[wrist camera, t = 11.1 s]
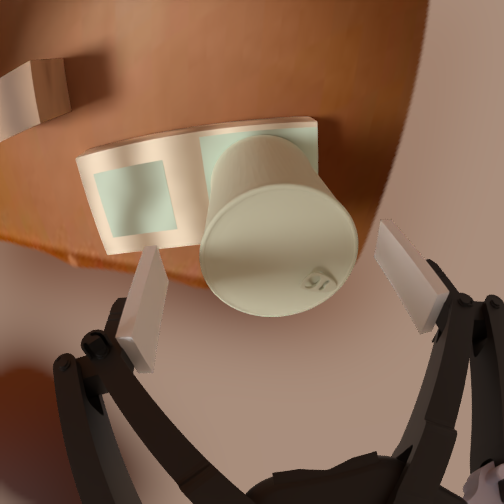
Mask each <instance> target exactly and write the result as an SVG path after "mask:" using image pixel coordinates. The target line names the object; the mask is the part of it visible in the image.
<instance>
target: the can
mask: <svg viewBox="0 0 504 504" xmlns="http://www.w3.org/2000/svg"><path fill="white" fill-rule="evenodd" d="M357 253H358V236H357V231H356V227H355V224H354V222H353V220H352V218H351V216H350V214H349V213H348V211H347V210H346V209H345V207H344V206H343V205H342V204H341V203H340V202H339V201H338V200H337V199H336V198H335V196H334V195H333V194H332V193H331V191H330V190H329V189H328V187H327V186H326V185H325V183H324V182H323V181H322V179H321V178H320V177H319V176H318V174H317V173H316V172H315V170H314V169H313V168H312V166H311V164H310V162H309V160H308V158H307V157H306V155H305V154H304V153H303V152H302V150H301V149H299V148H298V147H297V146H296V145H295V144H293V143H292V142H290V141H288V140H286V139H284V138H281V137H277V136H272V135H255V136H250V137H247V138H244V139H242V140H239V141H237V142H236V143H234V144H232V145H231V146H230V147H228V148H227V149H226V150H225V151H224V152H223V153H222V154H221V156H220V157H219V159H218V160H217V162H216V164H215V166H214V168H213V171H212V175H211V194H210V201H209V207H208V213H207V219H206V225H205V230H204V234H203V237H202V240H201V245H200V253H199V256H200V266H201V271H202V274H203V277H204V279H205V281H206V283H207V285H208V286H209V287H210V289H211V290H212V292H213V293H214V294H215V295H216V296H217V297H218V298H219V299H221V300H222V301H223V302H224V303H226V304H228V305H229V306H231V307H233V308H235V309H237V310H239V311H242V312H245V313H248V314H252V315H256V316H264V317H280V316H287V315H293V314H297V313H300V312H304V311H306V310H309V309H311V308H313V307H315V306H317V305H319V304H321V303H322V302H324V301H325V300H327V299H328V298H330V297H331V296H332V295H333V294H335V293H336V292H337V291H338V290H339V288H341V286H342V285H343V284H344V283H345V281H346V280H347V278H348V277H349V275H350V273H351V272H352V269H353V267H354V265H355V262H356V258H357Z"/></svg>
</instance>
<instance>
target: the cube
mask: <svg viewBox="0 0 504 504" xmlns="http://www.w3.org/2000/svg"><path fill="white" fill-rule="evenodd" d="M71 111H72V110H71V105H70V99H69V94H68V88H67V81H66V75H65V68H64V60H63V58H59V59H41V60H30V61H28V62H26V63H24V64H23V65H21V66H19V67H17V68H16V69H14V70H12V71H11V72H9V73H7V74H6V75H4V76H3V77H1V78H0V142H1V141H3V140H5V139H7V138H9V137H12V136H14V135H16V134H18V133H20V132H22V131H24V130H27V129H29V128H31V127H33V126H36V125H38V124H40V123H43V122H45V121H48V120H50V119H53V118H55V117H58V116H60V115H63V114H66V113H68V112H71Z"/></svg>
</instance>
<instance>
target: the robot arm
mask: <svg viewBox="0 0 504 504" xmlns="http://www.w3.org/2000/svg"><path fill="white" fill-rule="evenodd" d="M374 257H375V259H376V261H377V262H378V264H379V265H380V267H381V269H382V270H383V272H384V273H385V275H386V276H387V278H388V280H389V281H390V283H391V285H392V286H393V288H394V289H395V291H396V293H397V295H398V296H399V298H400V300H401V301H402V303H403V305H404V306H405V308H406V310H407V312H408V314H409V315H410V317H411V319H412V321H413V323H414V324H415V326H416V328H417V330H418V332H419V333H420V334H423V333H426V332H430V331H432V329H433V327H434V325H435V323H436V324H437V326H438V328H439V329H438V331H437V333H436V335H435V336H434V338H433V340H432V342H434V345H433V349H432V353H431V356H430V360H429V364H428V367H427V370H426V374H425V377H424V380H423V383H422V386H421V389H420V392H419V395H418V398H417V401H416V404H415V407H414V409H413V412H412V415H411V417H410V420H409V422H408V425H407V427H406V430H405V432H404V434H403V437H402V439H401V441H400V443H399V445H398V446H397V448H396V449H395V451H394V453H393V454H392V456H391V457H389V456H381V455H377V452H376V451H375V452H372V453H368V454H365V455H361V456H358V457H354V458H351V459H349V460H347V461H345V462H344V463H342V464H339V465H338V466H335V467H334V468H331V469H329V470H305V469H297V470H290V471H284V472H275V473H273V477H271V478H268V479H265V480H263V481H261V482H260V483H258V484H256V485H255V486H254V487H252V488H251V489H250V490H249V491H248V492H247V493H246V494H244V493H243V492H242V491H240V490H239V489H238V488H237V487H236V486H235V485H234V484H232V483H231V482H230V481H229V480H228V479H227V478H226V477H225V476H224V475H223V474H222V473H220V472H219V471H218V470H217V469H216V468H215V467H214V466H213V465H212V464H211V463H210V462H209V461H208V460H207V459H206V458H205V457H204V456H203V455H202V454H201V453H200V452H199V451H198V450H197V449H196V448H195V447H194V446H193V445H192V444H191V443H190V442H189V441H188V440H187V439H186V438H185V436H184V435H182V433H181V432H180V431H179V430H178V429H177V428H176V426H175V425H174V424H173V423H172V422H171V421H170V420H169V418H168V417H167V416H166V415H165V414H164V412H163V411H162V410H161V409H160V408H159V406H158V405H157V404H156V403H155V402H154V400H153V399H152V398H151V397H150V395H149V394H148V393H147V392H146V390H145V389H144V388H143V386H142V385H141V384H140V382H139V381H138V380H137V378H136V377H135V376H134V374H133V370H134V367H135V369H136V370H137V372H138V373H153V370H154V364H155V357H156V349H157V344H158V337H159V332H160V326H161V320H162V314H163V308H164V303H165V298H166V293H167V287H168V283H169V281H168V278H167V275H166V272H165V269H164V266H163V263H162V260H161V256H160V253H159V250H158V247H157V245H153V246H146V247H144V250H143V252H142V255H141V258H140V261H139V264H138V267H137V269H136V272H135V275H134V278H133V281H132V284H131V287H130V290H129V293H128V297H126V298H118V299H117V300H116V302H115V303H114V304H113V305H112V308H111V311H110V315H109V317H108V321H107V323H106V326H105V329H104V331H102V330H93V331H91V332H89V333H87V334H86V335H85V336H84V338H83V339H82V342H81V348H82V350H83V351H84V353H85V354H86V356H83V357H80V358H77V359H76V358H75V357H74V356H73V355H72V354H69V353H66V354H62V355H60V356H59V357H58V358H57V359H56V360H55V362H54V364H53V374H54V382H55V391H56V398H57V405H58V411H59V417H60V422H61V428H62V432H63V438H64V442H65V446H66V451H67V455H68V458H69V462H70V466H71V470H72V473H73V477H74V480H75V483H76V487H77V490H78V493H79V496H80V499H81V501H82V504H142V503H141V500H140V498H139V496H138V494H137V492H136V490H135V487H134V485H133V483H132V481H131V478H130V476H129V474H128V471H127V469H126V466H125V464H124V461H123V458H122V456H121V453H120V450H119V448H118V445H117V442H116V439H115V436H114V433H113V431H112V427H111V424H110V421H109V418H108V414H107V411H106V408H105V404H104V401H103V397H102V394H105V393H108V392H109V393H110V395H111V396H112V398H113V400H114V401H115V403H116V404H117V406H118V407H119V409H120V410H121V412H122V413H123V415H124V416H125V418H126V419H127V421H128V422H129V424H130V425H131V426H132V428H133V429H134V431H135V432H136V433H137V435H138V436H139V437H140V439H141V440H142V441H143V443H144V444H145V445H146V447H147V448H148V449H149V450H150V452H151V453H152V454H153V456H154V457H155V458H156V459H157V460H158V462H159V463H160V464H161V465H162V467H163V468H164V469H165V470H166V471H167V473H168V474H169V475H170V476H171V477H172V478H173V479H174V480H175V482H176V483H177V484H178V486H179V488H180V490H181V491H182V492H183V493H184V494H185V496H186V497H187V498H188V499H189V500H190V501H191V502H192V503H193V504H504V303H503V301H502V300H501V299H500V298H499V297H498V296H495V295H488V296H487V297H486V299H485V301H484V302H477V301H473V299H472V298H471V297H470V296H469V295H467V294H464V293H459V292H458V291H457V289H456V288H455V287H454V285H453V284H452V283H451V281H450V280H449V279H448V278H447V277H446V275H445V274H444V272H442V270H441V268H439V266H438V265H437V264H436V263H435V262H433V261H432V260H430V259H427V260H425V259H424V257H423V256H422V255H421V254H420V252H419V251H418V250H417V249H416V248H415V246H414V245H413V244H412V243H411V242H410V240H409V239H408V238H407V237H406V236H405V234H404V233H403V232H402V231H401V230H400V229H399V227H398V226H397V225H396V224H395V223H394V222H393V221H392V219H385V220H380V226H379V232H378V238H377V244H376V249H375V255H374ZM469 358H470V369H471V387H472V432H471V434H472V435H471V451H470V474H471V475H470V476H469V477H468V479H467V482H466V483H465V485H464V487H463V492H464V493H465V494H464V497H463V498H461V497H460V496H458V495H456V494H454V493H452V492H451V491H449V490H447V489H446V488H444V487H442V486H441V485H440V483H441V481H442V478H443V475H444V473H445V470H446V467H447V465H448V462H449V459H450V456H451V453H452V450H453V447H454V444H455V441H456V437H457V431H456V430H455V429H454V427H455V422H456V419H457V415H458V411H459V407H460V403H461V399H462V395H463V390H464V385H465V380H466V375H467V369H468V363H469Z"/></svg>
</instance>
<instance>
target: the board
mask: <svg viewBox="0 0 504 504" xmlns="http://www.w3.org/2000/svg"><path fill="white" fill-rule="evenodd" d="M255 135H272V136H277V137H281V138H284V139H286V140H288V141H290V142H292V143H293V144H295V145H296V146H297V147H298V148H299V149H301V150H302V152H303V153H304V154H305V155H306V157H307V158H308V160H309V162H310V164H311V166H312V168H313V169H314V170H315V172H316V173H317V174H318V126H317V121H316V120H314V119H313V118H311V117H309V116H303V117H281V118H266V119H254V120H243V121H234V122H225V123H217V124H209V125H202V126H195V127H189V128H183V129H177V130H171V131H166V132H160V133H155V134H150V135H145V136H140V137H136V138H131V139H127V140H123V141H118V142H114V143H110V144H106V145H102V146H99V147H95V148H91V149H88V150H87V151H85V152H84V153H82V154H81V155H79V156H78V157H76V162H77V166H78V169H79V173H80V176H81V180H82V183H83V187H84V190H85V193H86V196H87V199H88V202H89V206H90V209H91V212H92V214H93V217H94V220H95V223H96V226H97V229H98V232H99V234H100V237H101V240H102V242H103V245H104V248H105V250H106V253H107V255H112V254H120V253H128V252H137V251H143V250H144V247H146V246H153V245H157V247H158V249H163V248H171V247H180V246H189V245H198V244H201V240H202V237H203V234H204V230H205V225H206V219H207V213H208V207H209V201H210V194H211V175H212V171H213V168H214V166H215V164H216V162H217V160H218V159H219V157H220V156H221V154H222V153H223V152H224V151H225V150H226V149H227V148H228V147H230V146H231V145H232V144H234V143H236V142H237V141H239V140H242V139H244V138H247V137H250V136H255Z"/></svg>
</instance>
